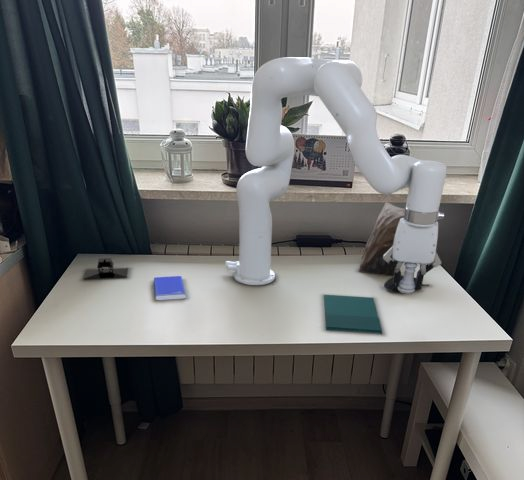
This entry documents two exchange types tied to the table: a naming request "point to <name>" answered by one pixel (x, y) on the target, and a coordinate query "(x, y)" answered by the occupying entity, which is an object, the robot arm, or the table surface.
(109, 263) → the build plate
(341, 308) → the flat rectangular slab
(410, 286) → the rook chess piece
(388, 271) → the brown faceted tall stone
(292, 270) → the table surface
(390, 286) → the gaming mouse
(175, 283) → the hard drive
